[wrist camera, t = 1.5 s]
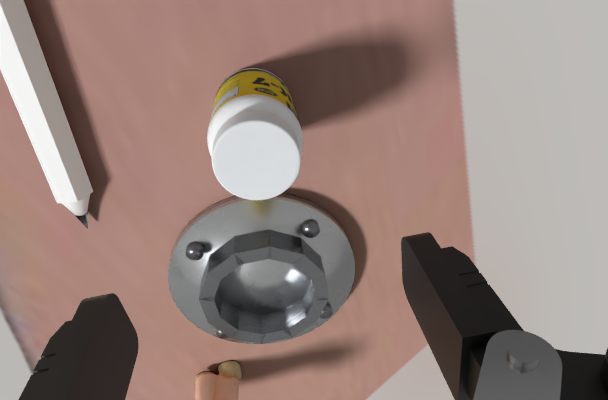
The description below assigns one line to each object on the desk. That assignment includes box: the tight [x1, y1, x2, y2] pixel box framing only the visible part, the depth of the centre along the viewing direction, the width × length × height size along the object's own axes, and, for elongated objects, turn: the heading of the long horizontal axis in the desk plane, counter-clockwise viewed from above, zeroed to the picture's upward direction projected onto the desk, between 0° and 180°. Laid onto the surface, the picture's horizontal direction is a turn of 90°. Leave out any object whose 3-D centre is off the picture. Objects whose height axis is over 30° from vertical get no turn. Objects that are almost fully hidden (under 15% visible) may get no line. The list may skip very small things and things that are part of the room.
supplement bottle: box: [207, 68, 303, 200], centre depth 22 cm, size 5×5×8 cm
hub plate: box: [168, 193, 355, 344], centre depth 31 cm, size 14×14×3 cm
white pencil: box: [0, 0, 93, 229], centre depth 24 cm, size 3×2×16 cm
